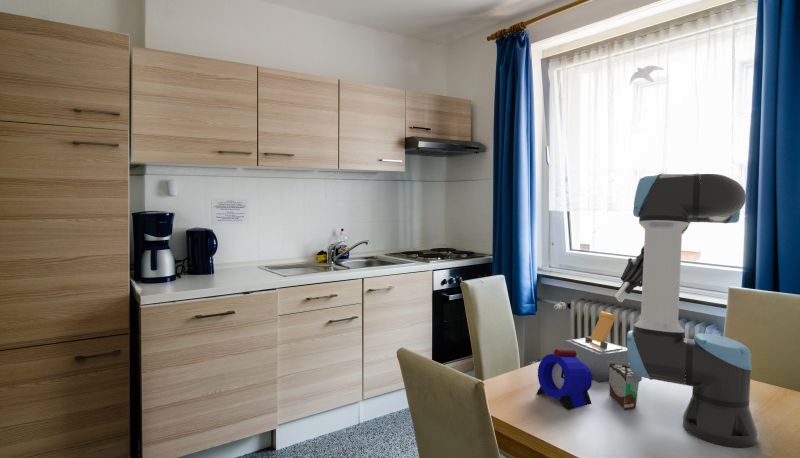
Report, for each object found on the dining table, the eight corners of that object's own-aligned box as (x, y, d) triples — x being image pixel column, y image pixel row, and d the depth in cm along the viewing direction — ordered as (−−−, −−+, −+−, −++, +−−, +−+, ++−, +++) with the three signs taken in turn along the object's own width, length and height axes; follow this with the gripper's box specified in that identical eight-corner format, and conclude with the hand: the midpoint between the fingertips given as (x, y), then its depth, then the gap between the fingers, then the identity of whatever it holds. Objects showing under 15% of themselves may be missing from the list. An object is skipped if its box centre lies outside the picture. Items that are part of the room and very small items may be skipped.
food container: (649, 412, 127) (650, 376, 127) (626, 412, 127) (627, 376, 127) (628, 394, 140) (629, 360, 139) (607, 393, 140) (608, 360, 139)
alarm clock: (534, 394, 139) (535, 344, 138) (564, 387, 145) (566, 339, 144) (566, 411, 128) (567, 357, 127) (597, 402, 134) (599, 350, 133)
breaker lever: (592, 340, 160) (605, 312, 161) (605, 345, 155) (618, 316, 156) (588, 337, 159) (601, 310, 160) (600, 342, 154) (613, 313, 155)
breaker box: (592, 361, 167) (593, 331, 166) (628, 377, 152) (629, 344, 151) (564, 365, 163) (565, 335, 162) (598, 382, 148) (599, 348, 147)
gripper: (679, 257, 159) (639, 310, 154) (647, 252, 171) (609, 302, 166) (668, 242, 157) (627, 295, 152) (636, 238, 169) (597, 288, 164)
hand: (618, 299), depth 159 cm, fingers closed
